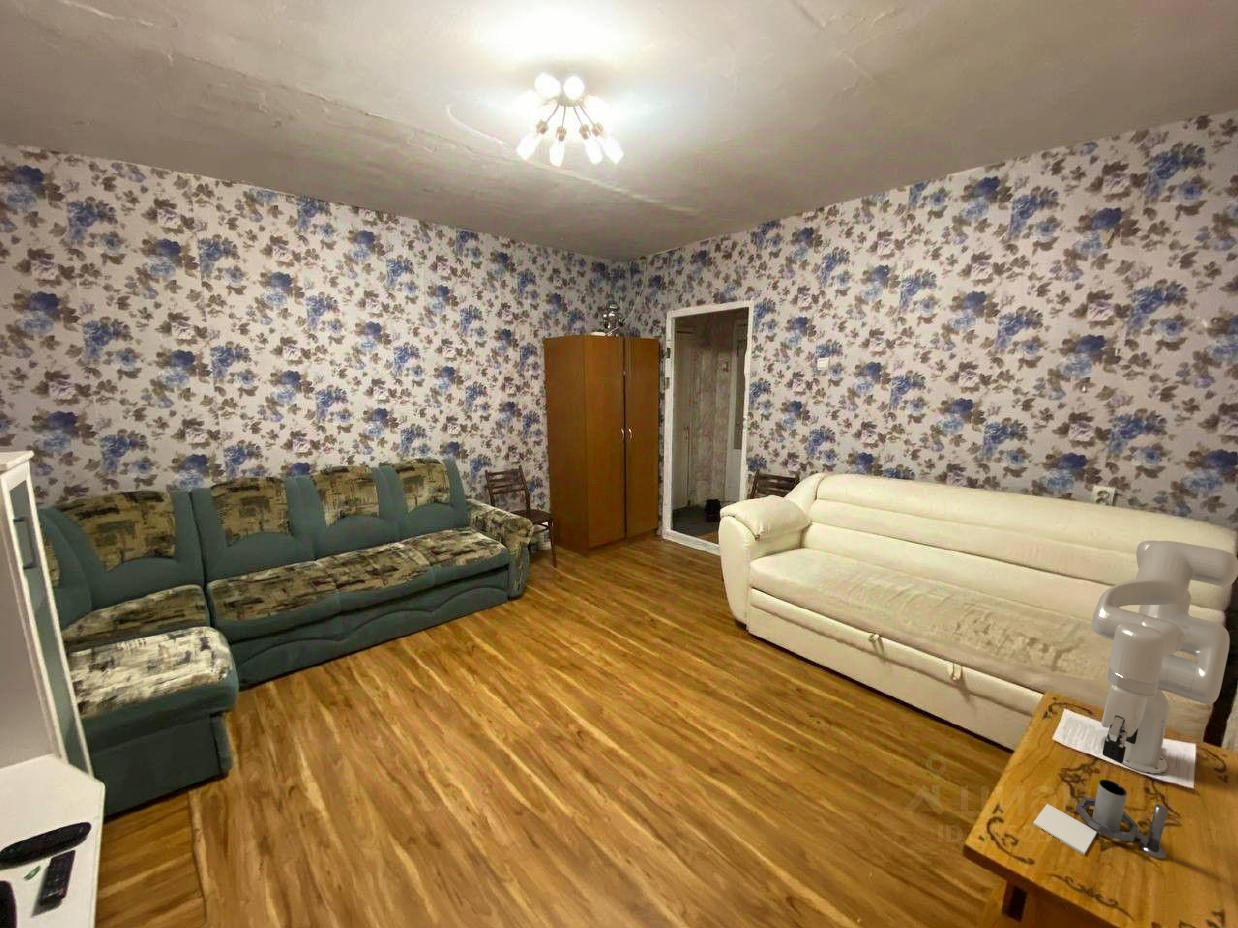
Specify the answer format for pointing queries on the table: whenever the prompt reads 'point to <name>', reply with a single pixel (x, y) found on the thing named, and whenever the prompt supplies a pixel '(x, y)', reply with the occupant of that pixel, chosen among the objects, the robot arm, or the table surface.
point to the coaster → (1065, 828)
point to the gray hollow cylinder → (1109, 804)
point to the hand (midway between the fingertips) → (1118, 749)
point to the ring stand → (1131, 828)
